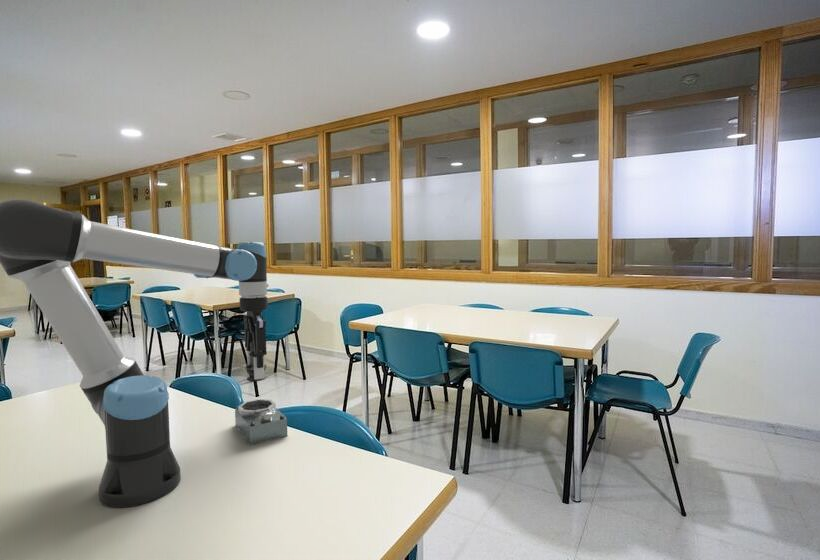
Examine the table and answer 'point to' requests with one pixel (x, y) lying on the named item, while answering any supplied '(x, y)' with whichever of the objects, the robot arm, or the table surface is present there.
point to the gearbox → (260, 421)
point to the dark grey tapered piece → (252, 365)
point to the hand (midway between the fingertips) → (256, 375)
